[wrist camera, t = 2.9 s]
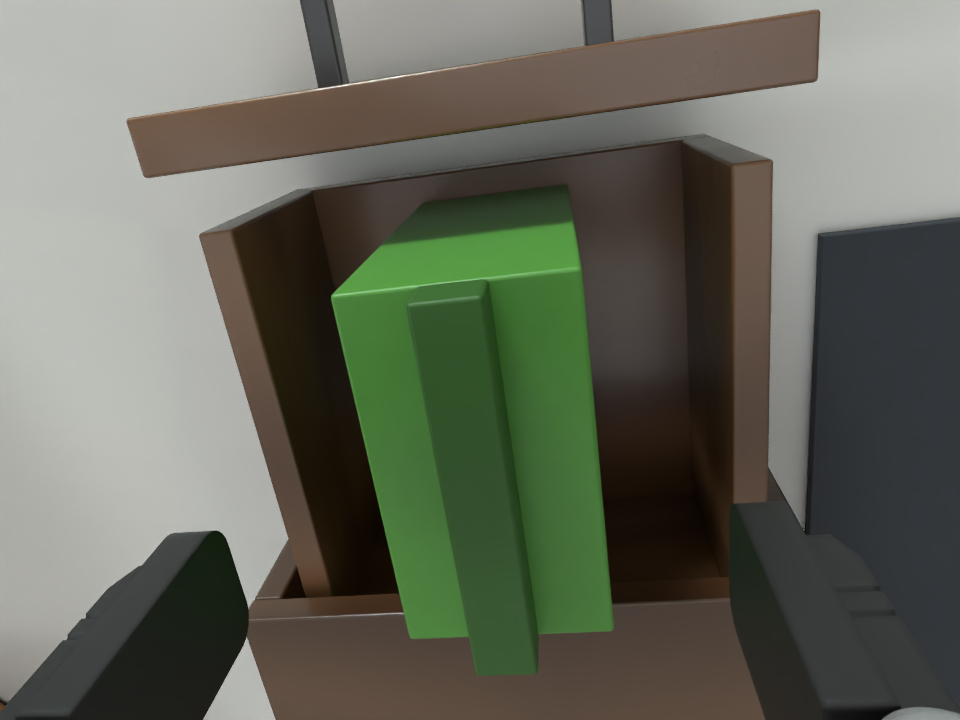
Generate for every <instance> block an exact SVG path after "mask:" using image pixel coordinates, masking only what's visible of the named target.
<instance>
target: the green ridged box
mask: <svg viewBox="0 0 960 720" xmlns="http://www.w3.org/2000/svg"><path fill="white" fill-rule="evenodd" d="M331 301H332V306H333V310H334V314H335V318H336V323H337V327H338V331H339V336H340V340H341V344H342V349H343V353H344V357H345V361H346V366H347V370H348V374H349V379H350V383H351V387H352V392H353V396H354V400H355V405H356V409H357V413H358V417H359V422H360V426H361V430H362V435H363V439H364V443H365V448H366V452H367V456H368V460H369V465H370V469H371V473H372V478H373V482H374V486H375V491H376V495H377V499H378V503H379V508H380V512H381V516H382V521H383V525H384V529H385V534H386V538H387V542H388V547H389V551H390V555H391V559H392V564H393V568H394V572H395V577H396V581H397V585H398V590H399V594H400V598H401V602H402V607H403V611H404V615H405V620H406V624H407V628H408V633H409V636H410V638H411V639H430V638H455V637H469V640H470V646H471V651H472V656H473V661H474V667H475V672H476V674H477V675H478V676H499V675H531V674H536V673H537V671H538V649H539V634H556V633H581V632H607V631H612V630H613V628H614V621H613V609H612V598H611V587H610V575H609V564H608V553H607V542H606V530H605V519H604V508H603V497H602V485H601V474H600V463H599V451H598V440H597V429H596V418H595V406H594V395H593V384H592V373H591V361H590V350H589V339H588V327H587V316H586V305H585V294H584V282H583V271H582V265H581V259H580V253H579V247H578V241H577V236H576V230H575V224H574V218H573V212H572V206H571V200H570V195H569V189H568V186H567V185H565V184H564V185H556V186H548V187H541V188H533V189H525V190H518V191H510V192H502V193H495V194H487V195H479V196H472V197H464V198H456V199H449V200H441V201H433V202H426V203H422V204H421V205H420V206H419V207H418V208H417V209H416V210H415V211H414V212H413V213H412V214H411V215H410V216H409V217H408V218H407V219H406V220H405V221H404V222H403V223H402V224H401V225H400V226H399V227H398V228H397V229H396V230H395V231H394V232H393V233H392V234H391V235H390V236H389V238H388V239H387V240H386V241H385V242H384V243H383V244H382V245H381V246H380V247H379V248H378V249H377V250H376V251H375V252H374V253H373V254H372V255H371V256H370V257H369V258H368V259H367V260H366V261H365V262H364V263H363V264H362V265H361V266H360V267H359V268H358V269H357V270H356V271H355V272H354V273H353V274H352V275H351V276H350V277H349V278H348V279H347V280H346V281H345V282H344V283H343V284H342V285H341V286H340V287H339V288H338V289H337V290H336V291H335V292H334V293H333V294H332V295H331Z"/></svg>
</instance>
